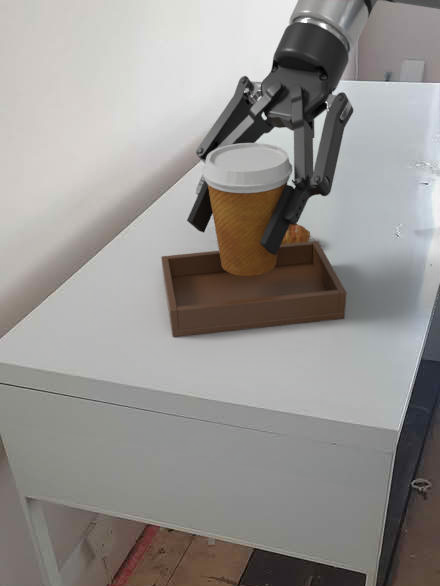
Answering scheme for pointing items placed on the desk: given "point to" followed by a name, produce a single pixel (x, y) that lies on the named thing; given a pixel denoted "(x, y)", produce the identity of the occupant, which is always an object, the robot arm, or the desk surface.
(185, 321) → the serving tray
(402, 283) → the desk surface
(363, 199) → the desk surface
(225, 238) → the disposable coffee cup
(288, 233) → the pastry
